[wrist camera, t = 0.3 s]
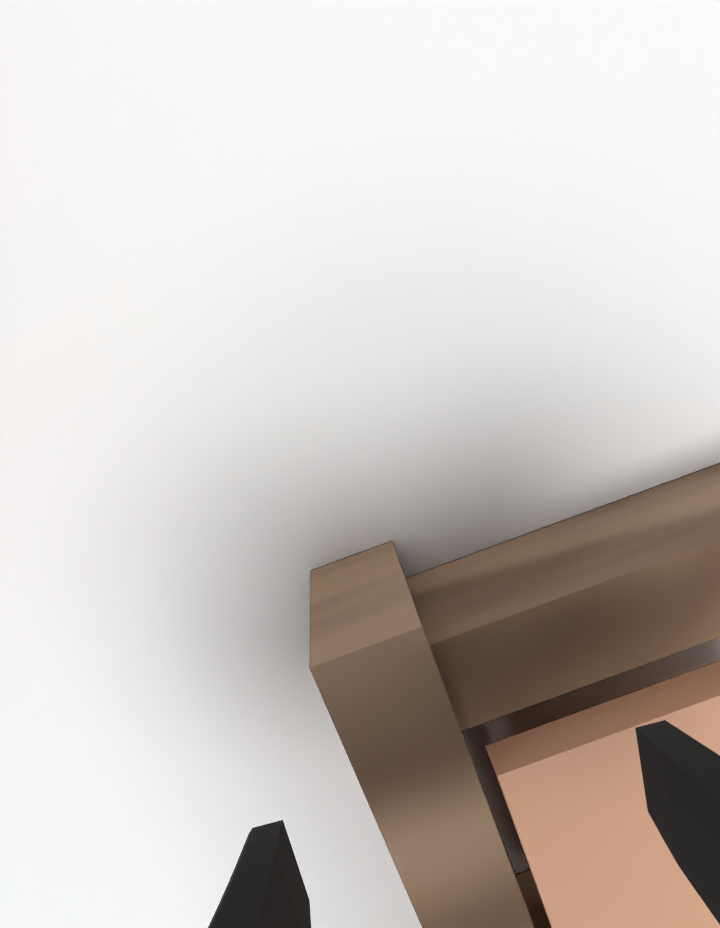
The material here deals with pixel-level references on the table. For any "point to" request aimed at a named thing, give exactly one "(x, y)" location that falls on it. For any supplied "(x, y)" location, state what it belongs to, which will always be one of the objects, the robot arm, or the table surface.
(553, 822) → the trapdoor
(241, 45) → the table surface
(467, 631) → the frame
